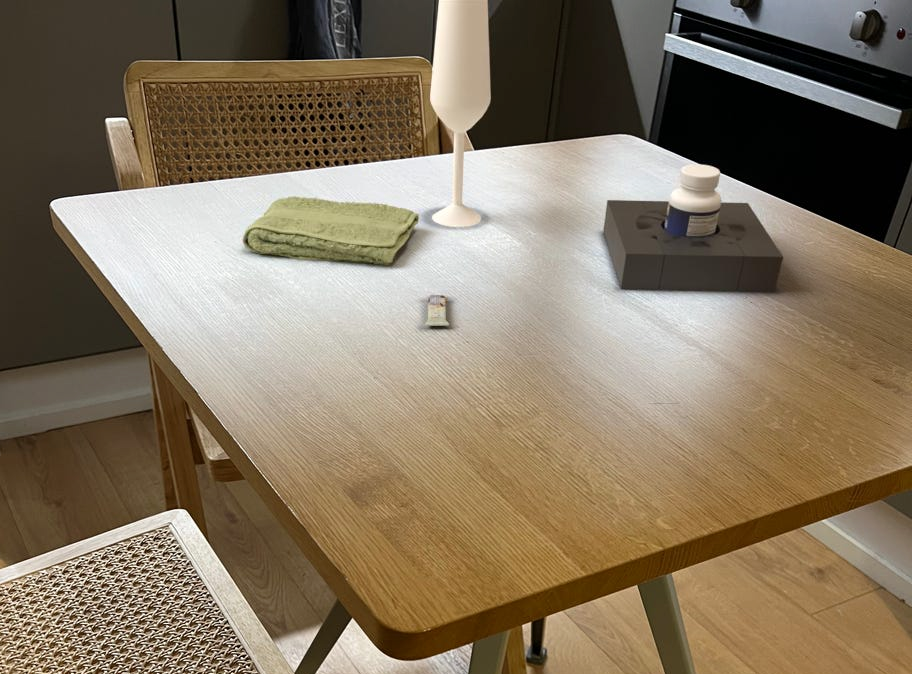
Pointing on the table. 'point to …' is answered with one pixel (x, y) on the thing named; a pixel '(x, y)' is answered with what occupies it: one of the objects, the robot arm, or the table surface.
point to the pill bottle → (694, 203)
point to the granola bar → (437, 310)
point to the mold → (690, 251)
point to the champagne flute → (460, 87)
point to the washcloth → (331, 230)
